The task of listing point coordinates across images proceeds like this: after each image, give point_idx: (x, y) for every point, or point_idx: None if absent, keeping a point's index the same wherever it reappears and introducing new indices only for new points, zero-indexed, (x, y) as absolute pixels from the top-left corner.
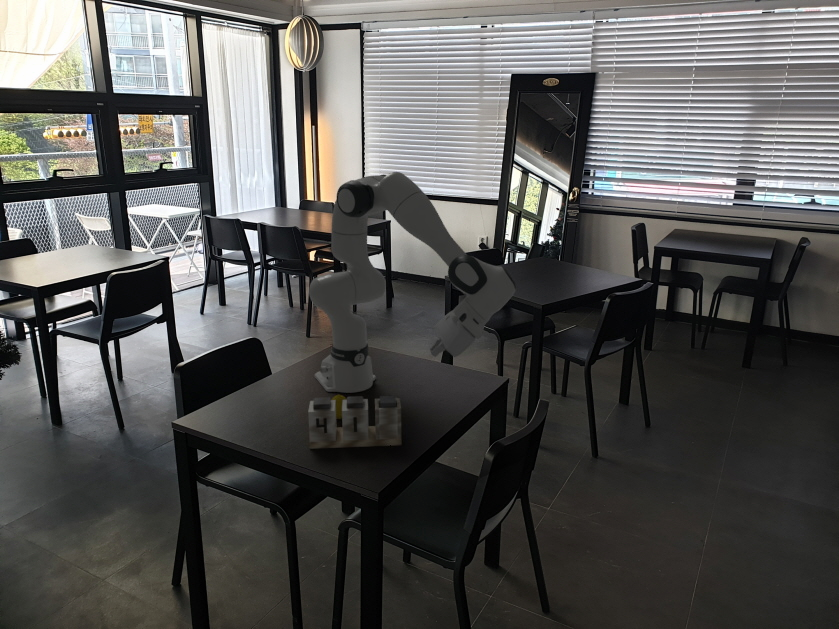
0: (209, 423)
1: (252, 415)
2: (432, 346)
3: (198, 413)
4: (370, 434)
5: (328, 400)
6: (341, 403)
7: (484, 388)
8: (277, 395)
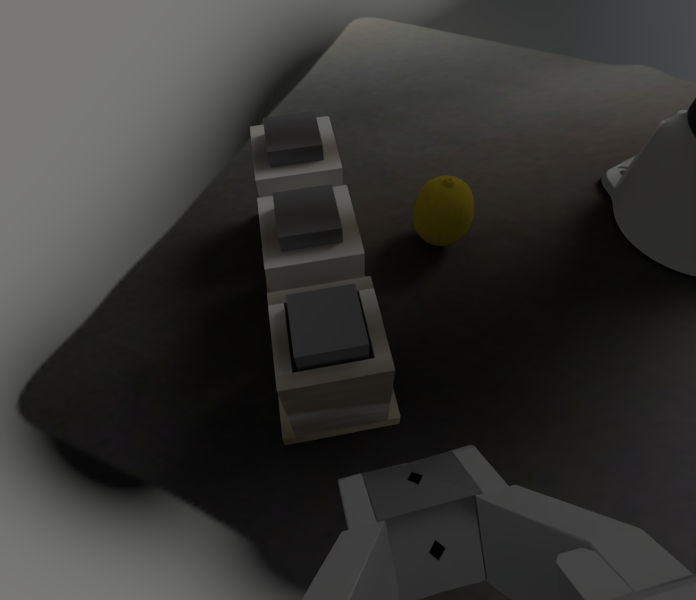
0: (364, 46)
1: (413, 87)
2: (483, 472)
3: (402, 24)
4: None
5: (296, 144)
6: (425, 205)
7: None
8: (530, 98)
